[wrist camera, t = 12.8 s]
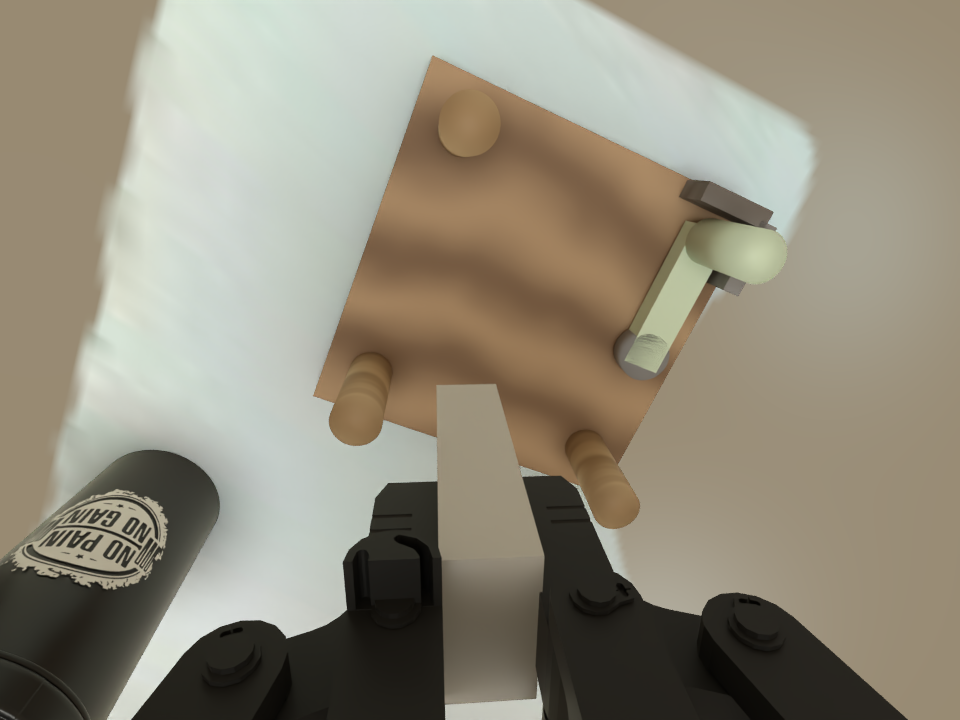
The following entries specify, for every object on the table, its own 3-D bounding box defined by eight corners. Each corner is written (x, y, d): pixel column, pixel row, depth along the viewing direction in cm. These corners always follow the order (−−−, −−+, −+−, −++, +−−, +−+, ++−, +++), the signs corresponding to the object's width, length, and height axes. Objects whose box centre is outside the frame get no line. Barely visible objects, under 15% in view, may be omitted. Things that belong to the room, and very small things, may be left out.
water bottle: (248, 465, 41) (35, 811, 19) (210, 572, 43) (-11, 978, 22) (102, 419, 39) (-321, 747, 17) (73, 534, 41) (-321, 941, 20)
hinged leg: (645, 378, 38) (693, 426, 31) (605, 362, 38) (643, 407, 31) (728, 227, 35) (800, 243, 28) (685, 207, 34) (749, 218, 28)
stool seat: (594, 478, 43) (636, 562, 34) (319, 384, 39) (284, 451, 30) (741, 209, 37) (840, 224, 28) (432, 61, 33) (431, 23, 24)
